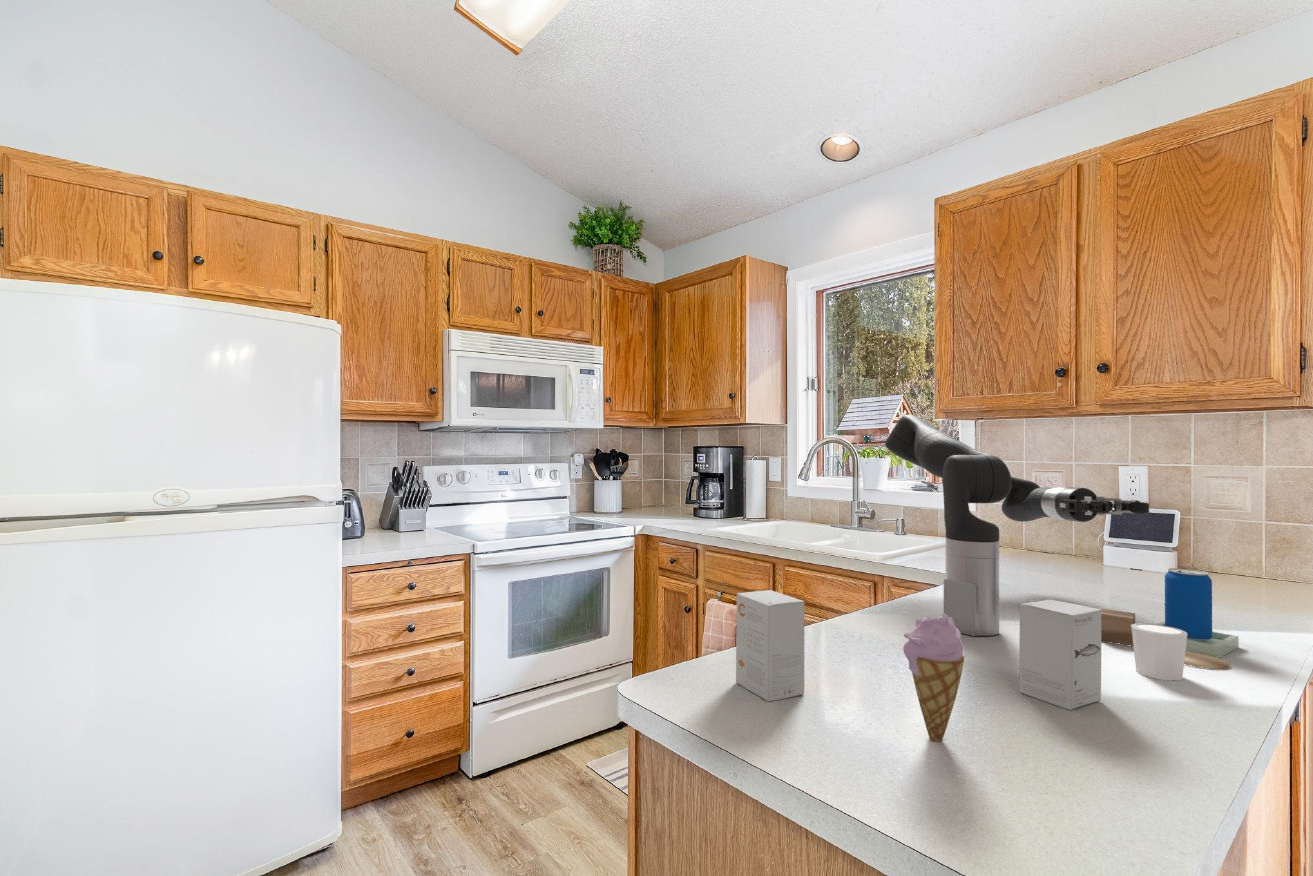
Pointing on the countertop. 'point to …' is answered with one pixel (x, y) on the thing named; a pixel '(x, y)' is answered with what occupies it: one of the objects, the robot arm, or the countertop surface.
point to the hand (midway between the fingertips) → (1127, 508)
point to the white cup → (1159, 651)
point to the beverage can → (1189, 602)
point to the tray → (1213, 644)
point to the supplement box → (1060, 653)
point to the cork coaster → (1205, 661)
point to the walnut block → (1117, 626)
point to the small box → (770, 644)
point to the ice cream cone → (935, 669)
